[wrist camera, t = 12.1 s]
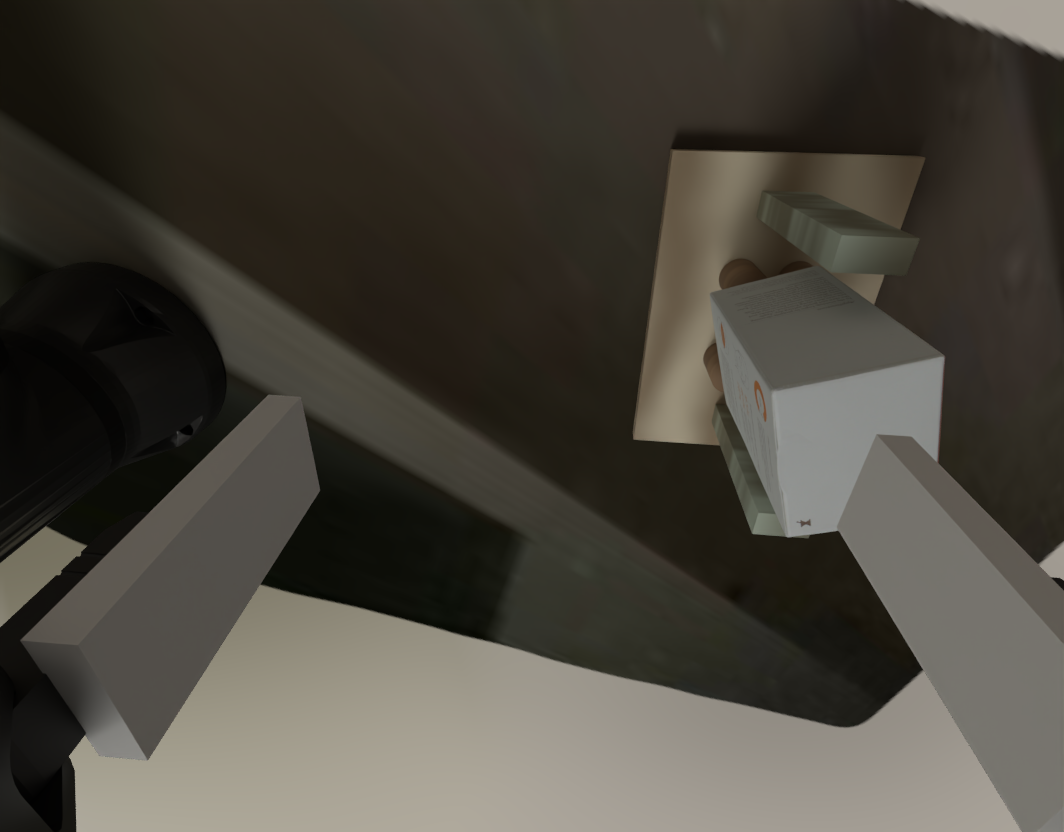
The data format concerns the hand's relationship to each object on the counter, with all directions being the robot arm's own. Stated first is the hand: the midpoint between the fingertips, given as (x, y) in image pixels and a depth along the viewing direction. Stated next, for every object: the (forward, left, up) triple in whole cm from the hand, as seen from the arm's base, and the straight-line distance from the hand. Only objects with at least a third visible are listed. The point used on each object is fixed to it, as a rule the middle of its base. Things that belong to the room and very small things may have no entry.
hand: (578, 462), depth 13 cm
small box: (+12, -5, -22) cm, 26 cm away
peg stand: (+12, -5, -26) cm, 29 cm away
